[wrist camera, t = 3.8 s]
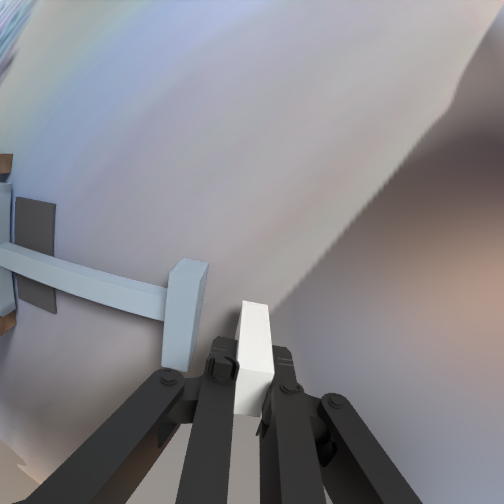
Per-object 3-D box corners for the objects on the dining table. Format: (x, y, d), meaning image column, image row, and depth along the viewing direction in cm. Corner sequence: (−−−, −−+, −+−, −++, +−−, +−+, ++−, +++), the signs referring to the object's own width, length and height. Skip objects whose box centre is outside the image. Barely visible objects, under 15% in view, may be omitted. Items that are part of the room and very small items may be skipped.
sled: (-48, 176, 15) (-68, 179, 12) (217, 219, 16) (208, 228, 13) (-45, 273, 18) (-63, 281, 15) (192, 371, 19) (183, 401, 16)
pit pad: (18, 196, 16) (15, 197, 16) (55, 204, 17) (53, 204, 16) (20, 296, 19) (18, 298, 18) (56, 312, 19) (54, 313, 19)
